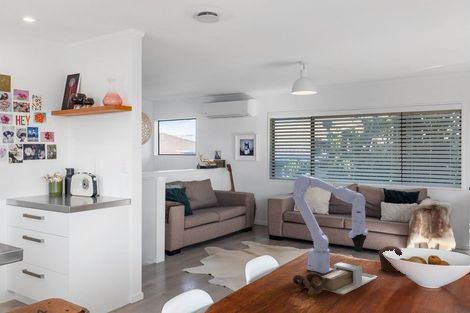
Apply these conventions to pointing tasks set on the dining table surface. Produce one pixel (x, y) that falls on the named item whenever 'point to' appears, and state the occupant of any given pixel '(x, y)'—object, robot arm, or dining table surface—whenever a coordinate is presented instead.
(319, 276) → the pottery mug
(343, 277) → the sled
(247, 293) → the dining table surface
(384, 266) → the muffin
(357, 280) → the tunnel
